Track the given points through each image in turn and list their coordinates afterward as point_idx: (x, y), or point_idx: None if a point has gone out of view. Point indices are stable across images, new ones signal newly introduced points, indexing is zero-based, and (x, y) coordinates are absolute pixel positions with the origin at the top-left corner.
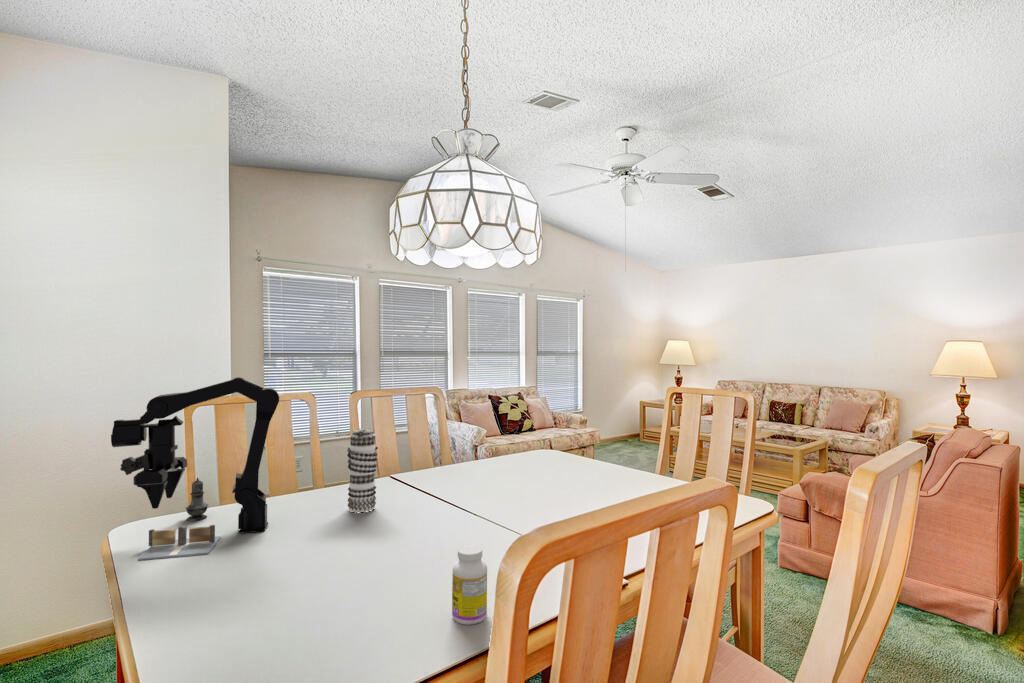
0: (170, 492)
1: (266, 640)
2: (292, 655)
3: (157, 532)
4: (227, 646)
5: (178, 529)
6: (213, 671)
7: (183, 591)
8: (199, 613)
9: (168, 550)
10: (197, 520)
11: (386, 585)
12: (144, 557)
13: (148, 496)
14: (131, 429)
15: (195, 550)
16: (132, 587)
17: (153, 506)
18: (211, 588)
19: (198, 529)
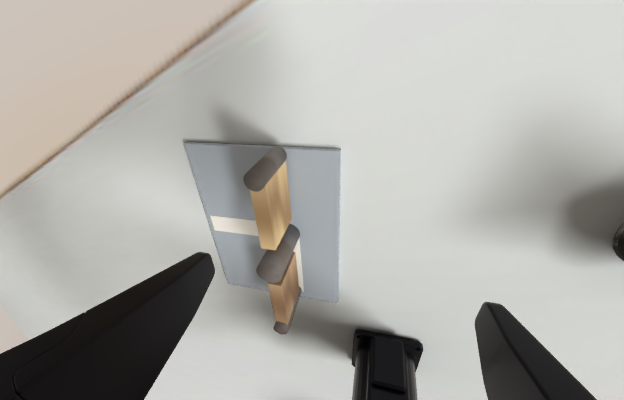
0: (492, 370)
1: (38, 317)
2: (32, 326)
3: (253, 198)
4: (16, 295)
5: (261, 260)
6: None
7: (84, 257)
8: (47, 276)
9: (244, 208)
10: (614, 241)
11: (152, 391)
12: (194, 159)
13: (77, 319)
14: None
15: (240, 262)
16: (64, 181)
17: (188, 265)
18: (104, 285)
19: (272, 299)
